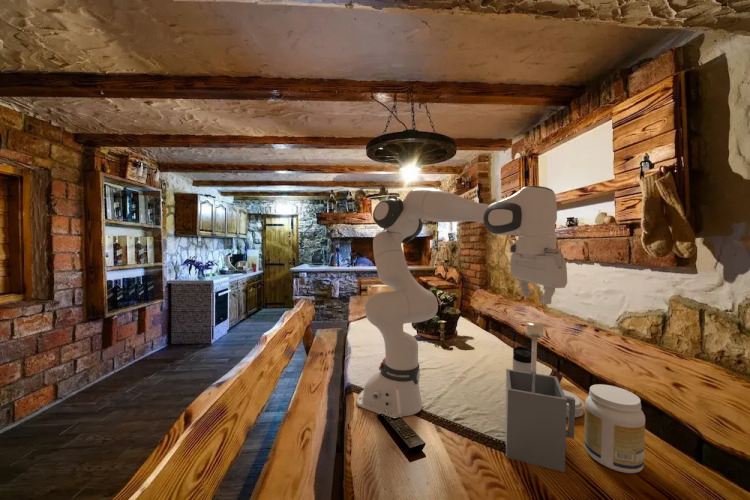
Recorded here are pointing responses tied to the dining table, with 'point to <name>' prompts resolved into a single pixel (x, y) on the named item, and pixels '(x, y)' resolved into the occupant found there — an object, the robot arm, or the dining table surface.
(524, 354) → the travel mug
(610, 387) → the supplement tub
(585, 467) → the dining table surface
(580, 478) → the dining table surface
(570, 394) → the lid
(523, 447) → the box
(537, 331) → the plunger
